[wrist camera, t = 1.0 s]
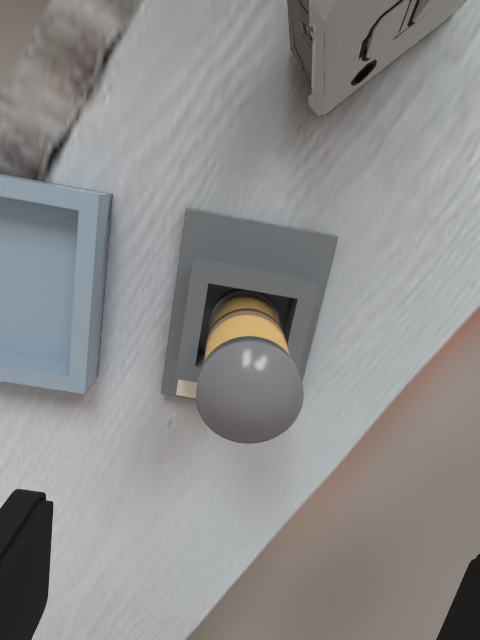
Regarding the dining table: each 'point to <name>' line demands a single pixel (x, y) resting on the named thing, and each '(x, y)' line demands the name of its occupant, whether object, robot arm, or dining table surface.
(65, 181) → the dining table surface
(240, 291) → the fuse
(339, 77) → the electrical switch
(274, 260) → the grey square socket holder
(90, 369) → the tray
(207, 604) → the dining table surface
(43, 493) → the robot arm
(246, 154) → the dining table surface
